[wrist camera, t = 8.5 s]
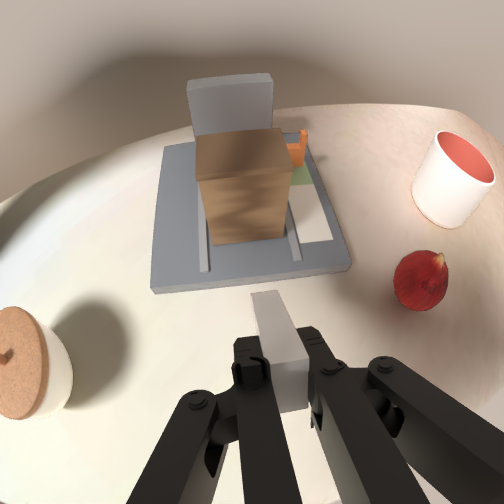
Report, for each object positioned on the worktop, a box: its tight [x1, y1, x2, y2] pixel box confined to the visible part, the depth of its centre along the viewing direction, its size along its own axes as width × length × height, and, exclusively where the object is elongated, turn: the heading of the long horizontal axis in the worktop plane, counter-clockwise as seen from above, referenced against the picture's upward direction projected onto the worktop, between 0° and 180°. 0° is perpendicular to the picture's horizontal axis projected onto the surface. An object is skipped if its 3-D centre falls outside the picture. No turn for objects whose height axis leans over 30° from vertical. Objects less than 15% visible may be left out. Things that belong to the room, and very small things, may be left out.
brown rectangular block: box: [195, 128, 294, 246], centre depth 25 cm, size 7×5×10 cm
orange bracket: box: [286, 130, 308, 167], centre depth 30 cm, size 11×1×5 cm, turn 97°
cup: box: [411, 131, 495, 229], centre depth 29 cm, size 10×10×10 cm
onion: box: [393, 250, 448, 311], centre depth 23 cm, size 6×6×8 cm
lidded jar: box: [0, 307, 73, 420], centre depth 17 cm, size 11×11×9 cm
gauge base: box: [150, 73, 352, 294], centre depth 28 cm, size 20×22×12 cm
